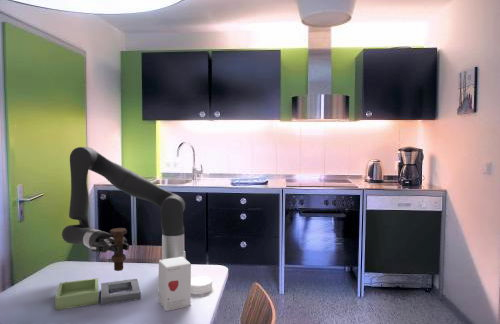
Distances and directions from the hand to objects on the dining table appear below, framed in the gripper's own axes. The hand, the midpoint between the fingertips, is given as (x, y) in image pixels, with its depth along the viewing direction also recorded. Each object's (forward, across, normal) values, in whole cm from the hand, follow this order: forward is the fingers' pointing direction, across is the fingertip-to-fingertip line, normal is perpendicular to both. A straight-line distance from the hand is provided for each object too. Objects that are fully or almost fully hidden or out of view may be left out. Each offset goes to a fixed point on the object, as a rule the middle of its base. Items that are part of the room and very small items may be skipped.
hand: (123, 248), depth 128 cm
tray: (-11, -11, +18) cm, 24 cm away
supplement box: (+19, +8, +18) cm, 27 cm away
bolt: (-3, 0, +9) cm, 9 cm away
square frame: (-2, 0, +18) cm, 18 cm away
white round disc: (+17, +22, +18) cm, 33 cm away
